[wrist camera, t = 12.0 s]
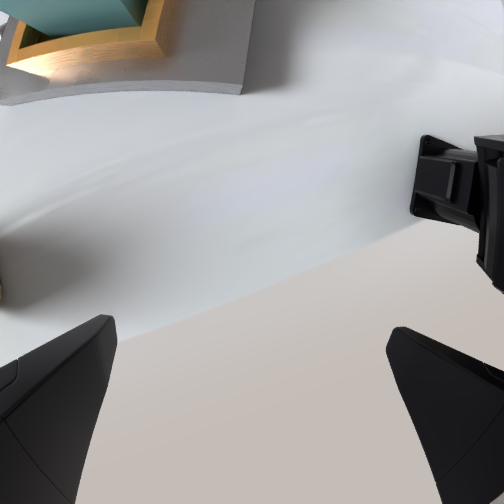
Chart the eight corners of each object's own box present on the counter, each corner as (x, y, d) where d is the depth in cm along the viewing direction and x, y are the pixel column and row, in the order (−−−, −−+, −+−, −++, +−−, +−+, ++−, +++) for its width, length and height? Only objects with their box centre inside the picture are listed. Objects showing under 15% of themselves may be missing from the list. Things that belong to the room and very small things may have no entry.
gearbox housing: (260, -40, 13) (273, -86, 7) (239, 95, 17) (248, 71, 11) (35, -15, 10) (1, -39, 5) (0, 108, 14) (-49, 105, 8)
